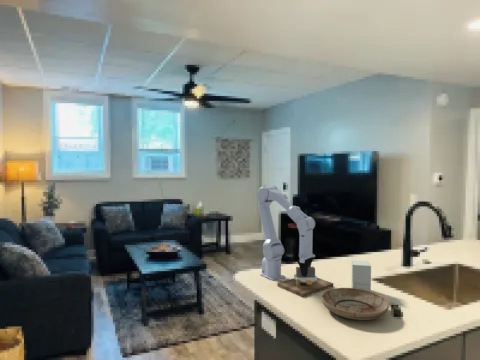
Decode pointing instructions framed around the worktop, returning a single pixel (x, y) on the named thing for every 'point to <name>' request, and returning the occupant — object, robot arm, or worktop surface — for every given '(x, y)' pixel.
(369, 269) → the supplement box
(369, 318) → the ceramic bowl
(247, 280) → the worktop surface
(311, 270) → the flange disc
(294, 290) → the walnut base
